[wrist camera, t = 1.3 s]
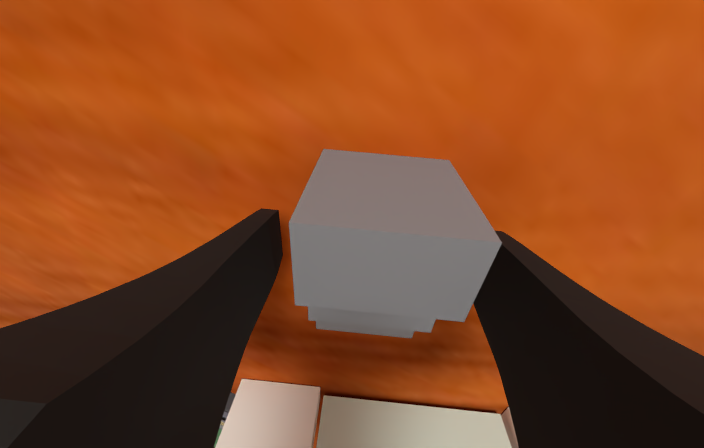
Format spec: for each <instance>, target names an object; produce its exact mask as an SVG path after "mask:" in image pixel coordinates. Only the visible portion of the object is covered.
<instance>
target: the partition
mask: <svg viewBox="0 0 704 448" xmlns="http://www.w3.org/2000/svg"><path fill="white" fill-rule="evenodd" d="M319 404H320V387H315V386H306V385H296V384H287V383H277V382H268V381H258V380H249V379H242V380H241V383H240V385H239V388H238V390H237V393H236V396H235V398H234V401H233V403H232V406H231V408H230V411H229V413H228V416H227V419H226V421H225V424H224V426H223V429H222V431H221V434H220V436H219V439H218V442H217V444H216V447H215V448H313V444H314V438H315V431H316V424H317V418H318V411H319ZM501 417H502V420H503V423H504V426H505V429H506V432H507V435H508V438H509V441H510V444H511V447H512V448H519V446H518V442H517V438H516V434H515V429H514V425H513V421H512V417H511V413H510V409H509V407H508V408H507V409H506V410H505V411H504V412H503V414H502V415H501Z"/></svg>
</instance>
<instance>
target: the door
mask: <svg viewBox="0 0 704 448" xmlns="http://www.w3.org/2000/svg"><path fill="white" fill-rule="evenodd" d="M316 448H512V447H511V444H510V441H509V438H508V435H507V432H506V429H505V426H504V423H503V420H502V417H501V415H500V414H495V413H486V412H477V411H467V410H458V409H448V408H439V407H429V406H420V405H411V404H401V403H392V402H382V401H373V400H364V399H354V398H345V397H335V396H326V395H324V397H323V404H322V411H321V418H320V425H319V432H318V439H317V446H316Z"/></svg>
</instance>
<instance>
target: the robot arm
mask: <svg viewBox="0 0 704 448" xmlns="http://www.w3.org/2000/svg"><path fill="white" fill-rule="evenodd" d="M495 232H496V234H497V235H498V237H499V239H500V240H501V242H502V244H501V246H500V248H499V250H498V252H497V254H496V257H495V259H494V261H493V263H492V265H491V267H490V269H489V271H488V273H487V275H486V277H485V279H484V281H483V284H482V286H481V288H480V290H479V292H478V294H477V296H476V298H475V300H474V302H473V303H474V306H475V309H476V311H477V314H478V317H479V319H480V322H481V324H482V327H483V330H484V332H485V335H486V337H487V340H488V343H489V345H490V348H491V350H492V353H493V355H494V358H495V361H496V364H497V367H498V370H499V373H500V376H501V379H502V383H503V387H504V390H505V394H506V398H507V401H508V405H509V409H510V413H511V417H512V421H513V425H514V429H515V434H516V438H517V442H518V446H519V448H704V356H702V355H700V354H698V353H696V352H694V351H692V350H691V349H689V348H687V347H685V346H683V345H681V344H679V343H677V342H675V341H673V340H671V339H669V338H667V337H666V336H664V335H662V334H660V333H658V332H656V331H655V330H653V329H651V328H649V327H647V326H646V325H644V324H642V323H640V322H639V321H637V320H635V319H634V318H632V317H630V316H628V315H627V314H625V313H623V312H622V311H620V310H618V309H616V308H615V307H613V306H611V305H610V304H608V303H607V302H605V301H603V300H602V299H600V298H599V297H597V296H596V295H594V294H592V293H591V292H589V291H588V290H586V289H585V288H583V287H582V286H580V285H579V284H577V283H576V282H574V281H573V280H571V279H570V278H568V277H567V276H566V275H564V274H563V273H561V272H560V271H558V270H557V269H556V268H554V267H553V266H551V265H550V264H549V263H547V262H546V261H544V260H543V259H542V258H540V257H539V256H537V255H536V254H535V253H533V252H532V251H531V250H529V249H528V248H526V247H525V246H524V245H522V244H521V243H519V242H518V241H516V240H515V239H513V238H512V237H510V236H509V235H507V234H506V233H504V232H502V231H495ZM282 256H283V252H282V241H281V231H280V221H279V210H271V209H260V210H258V211H256V212H255V213H253V214H251V215H250V216H248V217H247V218H245V219H244V220H242V221H241V222H239V223H238V224H236V225H234V226H233V227H231V228H230V229H228V230H227V231H225V232H224V233H222V234H220V235H219V236H217V237H216V238H214V239H212V240H211V241H209V242H207V243H205V244H204V245H202V246H200V247H198V248H197V249H195V250H193V251H192V252H190V253H188V254H186V255H185V256H183V257H181V258H179V259H177V260H175V261H173V262H171V263H169V264H167V265H165V266H163V267H161V268H159V269H157V270H155V271H153V272H151V273H148V274H146V275H144V276H142V277H140V278H137V279H135V280H132V281H130V282H128V283H125V284H123V285H120V286H118V287H116V288H113V289H111V290H108V291H106V292H104V293H101V294H99V295H96V296H94V297H91V298H88V299H86V300H83V301H80V302H77V303H75V304H72V305H69V306H67V307H64V308H61V309H58V310H55V311H52V312H49V313H46V314H43V315H40V316H38V317H35V318H32V319H28V320H25V321H22V322H19V323H16V324H13V325H10V326H6V327H3V328H0V448H214V444H215V441H216V438H217V434H218V431H219V427H220V424H221V421H222V417H223V414H224V411H225V407H226V404H227V401H228V398H229V395H230V392H231V389H232V386H233V382H234V379H235V376H236V373H237V370H238V367H239V364H240V361H241V359H242V356H243V353H244V350H245V347H246V344H247V342H248V340H249V337H250V335H251V332H252V330H253V328H254V326H255V324H256V321H257V319H258V317H259V315H260V313H261V310H262V308H263V306H264V304H265V302H266V299H267V297H268V295H269V293H270V290H271V288H272V286H273V284H274V281H275V279H276V276H277V273H278V270H279V266H280V263H281V259H282Z"/></svg>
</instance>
